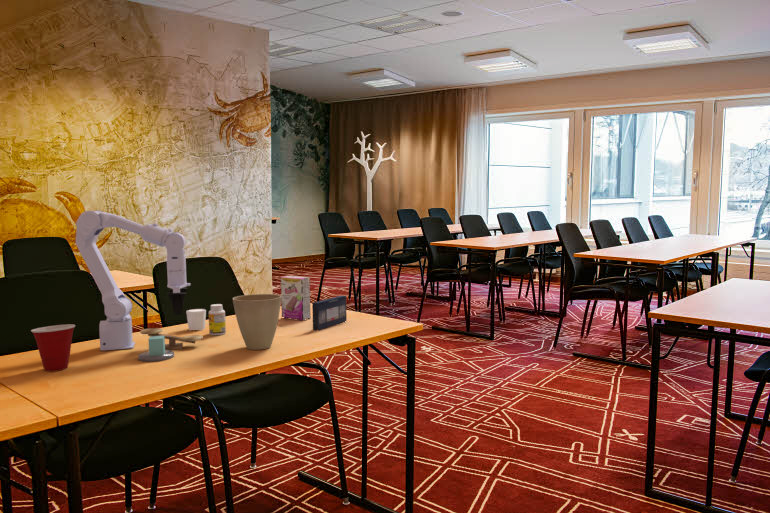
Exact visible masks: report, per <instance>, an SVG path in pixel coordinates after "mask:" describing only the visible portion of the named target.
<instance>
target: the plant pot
mask: <svg viewBox="0 0 770 513" xmlns="http://www.w3.org/2000/svg"><path fill="white" fill-rule="evenodd" d="M232 303H233V308H234V313H235V318H236V321H237V324H238V325H237V326H238V329H239V331H240V334H241V337H242V340H243V342H244V344H245V347H246V349H248V350H253V351H257V350H258V351H259V350H266V349H269V348H271V347H272V344H273V341H274V338H275V334H276V331H277V327H278V322H279V317H280V312H281V294H276V293H275V294H274V293H273V294H272V293H257V294H255V293H254V294H244V295H237V296H234V297H232Z"/></svg>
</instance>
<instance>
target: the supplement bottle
mask: <svg viewBox="0 0 770 513" xmlns="http://www.w3.org/2000/svg"><path fill="white" fill-rule="evenodd" d="M208 329H209V330H208V332H209V335H210V336H222V335H225V334H226V332H227V327H226V311H225V310H224V308H223V304H221V303H216V304H215V303H214V304H210V310H209V311H208Z"/></svg>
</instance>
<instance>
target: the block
mask: <svg viewBox="0 0 770 513" xmlns="http://www.w3.org/2000/svg"><path fill="white" fill-rule="evenodd" d="M147 339H148V351H149V356H159V355H164V353H165V344H166V342H165V341H166V340H165V338H164V336H149V337H148V338H147Z"/></svg>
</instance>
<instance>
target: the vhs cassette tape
mask: <svg viewBox="0 0 770 513" xmlns="http://www.w3.org/2000/svg"><path fill="white" fill-rule="evenodd" d="M311 307H312V308H311V310H312V330H313V331H321V330H325V329H328V328H330V327H334V326H337V324H338V325H340V323H341V324H344V323H346V322H347V318H348V317H347V296H346V295H339V296H335V297H334V296H333V297H330V298H326V299H321V300H319V301H314V302H312V306H311ZM345 321H346V322H345ZM343 322H344V323H343Z"/></svg>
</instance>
